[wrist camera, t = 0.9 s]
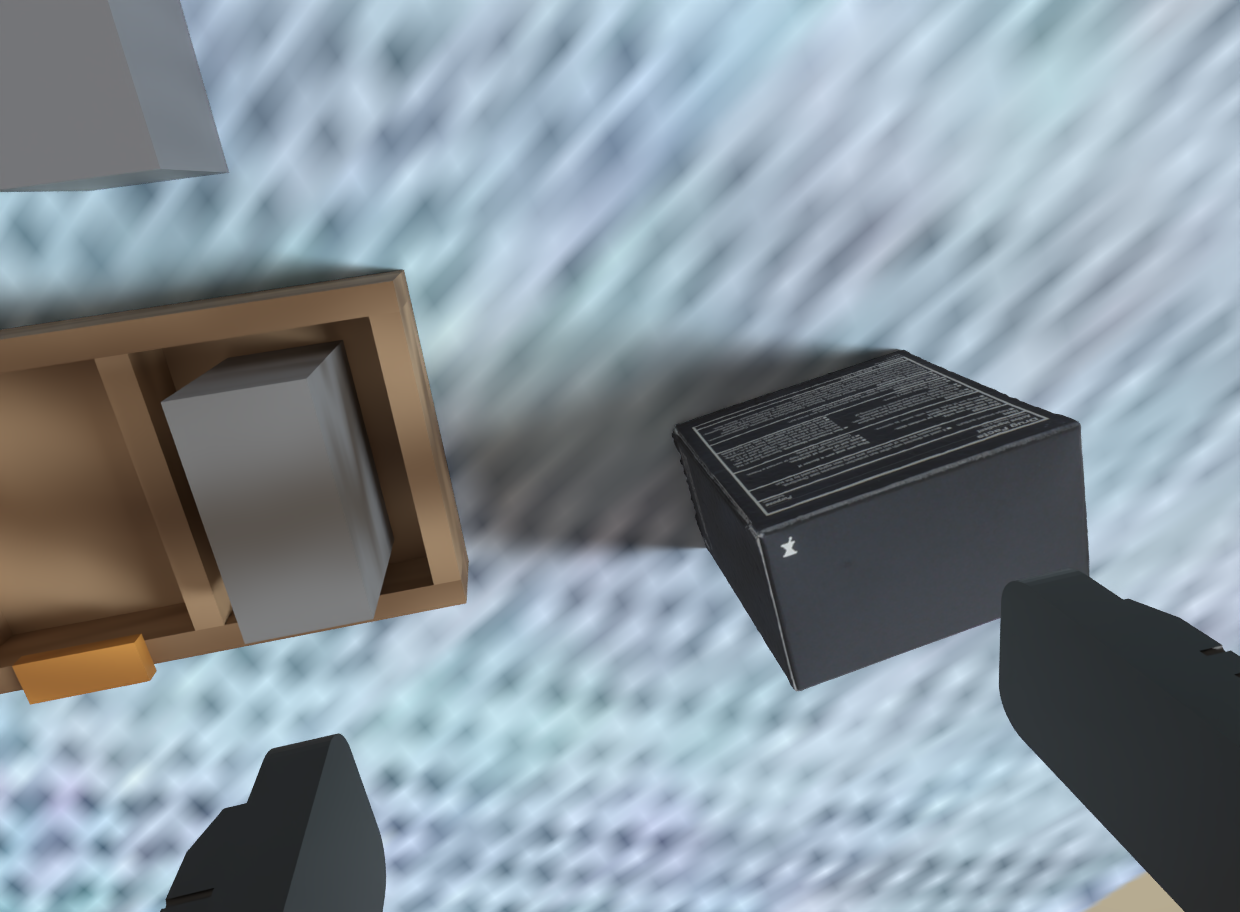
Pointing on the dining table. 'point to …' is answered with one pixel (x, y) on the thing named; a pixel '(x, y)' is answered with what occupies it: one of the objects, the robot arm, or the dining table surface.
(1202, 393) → the dining table surface
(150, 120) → the block
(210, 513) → the rack
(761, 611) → the small box
